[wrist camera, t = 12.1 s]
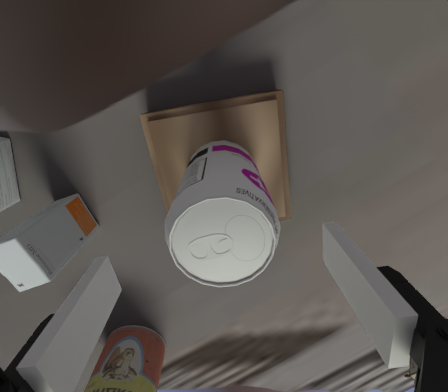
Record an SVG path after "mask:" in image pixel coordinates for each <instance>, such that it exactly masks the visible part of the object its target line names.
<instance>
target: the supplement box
mask: <svg viewBox="0 0 448 392" xmlns="http://www.w3.org/2000/svg"><path fill="white" fill-rule="evenodd" d="M19 201H20V196H19V190H18V184H17V178H16V172H15V166H14V160H13V154H12V148H11V142H10V139H9V138H4V137H0V212H1V211H2V210H4V209H6V208H8V207H10V206H11V205H13V204H15V203H17V202H19Z"/></svg>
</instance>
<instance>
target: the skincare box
mask: <svg viewBox="0 0 448 392" xmlns="http://www.w3.org/2000/svg"><path fill="white" fill-rule="evenodd" d="M99 227H100V226H99V225H98V223H97V222H96V220H95V219H94V217H93V216H92V214H91V213H90V211H89V210H88V208H87V206H86V205H85V203H84V201H83V200H82V198H81V197H80V195H79V194H78V193H76V194H74V195H71V196H68V197H65V198H63V199H60V200H57V201H54V202H52V203H51V204H49V205H48V206H46V207H45V208H43V209H42V210H40V211H39V212H37V213H36V214H34V215H33V216H31V217H30V218H28V219H27V220H25V221H24V222H22V223H21V224H19V225H18V226H16V227H15V228H13V229H12V230H10V231H9V232H7V233H6V234H4V235H3V236H1V237H0V272H1V274H2V275H3V276H5V277H6V278H7V279H8V280H9V281H10V282H11V283H12V284H13V285H14V287H15V288H16V289H17V290H18V291H19V292H22V291H24V290H27V289H30V288H33V287H36V286H39V285H42V284H45V283H47V282H50V281H51V280H52V279H53V278H54V277H55V276H56V275H57V274H58V273H59V271H60V270H61V269H62V268H63V267H64V266H65V265H66V264H67V263H68V261H69V260H70V259H71V258H72V257H73V256H74V255H75V254H76V253H77V251H78V250H79V249H80V248H81V247H82V246H83V245H84V244H85V242H86V241H87V240H88V239H89V238H90V237H91V236H92V235H93V234H94V232H95V231H96V230H97V229H98V228H99Z"/></svg>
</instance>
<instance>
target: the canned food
mask: <svg viewBox="0 0 448 392" xmlns="http://www.w3.org/2000/svg"><path fill="white" fill-rule="evenodd" d="M165 353H166V343H165V341H164V339H163V338H162V336H161V335H159V334H158V333H157V332H156V331H154V330H152V329H150V328H147V327H144V326H138V325H128V326H123V327H120V328H117V329H115V330H114V331H113V332H111V333H110V335H109V336H108V338H107V342H106V344H105V346H104V348H103V351H102V353H101V355H100V357H99V360H98V362H97V364H96V366H95V368H94V371H93V373H92V375H91V377H90V379H89V382H88V384H87V386H86V388H85V391H84V392H157V388H158V384H159V379H160V374H161V370H162V365H163V360H164V355H165Z"/></svg>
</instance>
